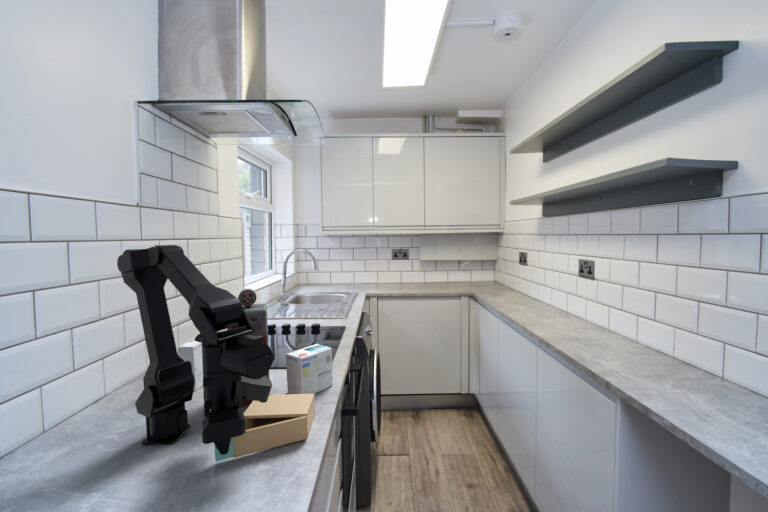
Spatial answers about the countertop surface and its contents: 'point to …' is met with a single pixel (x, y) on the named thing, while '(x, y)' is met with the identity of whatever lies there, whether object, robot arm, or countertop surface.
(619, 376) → the countertop surface
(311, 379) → the light bulb box
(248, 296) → the toy vending machine
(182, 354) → the skincare box
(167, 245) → the robot arm
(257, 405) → the kraft carton
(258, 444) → the carton flap
